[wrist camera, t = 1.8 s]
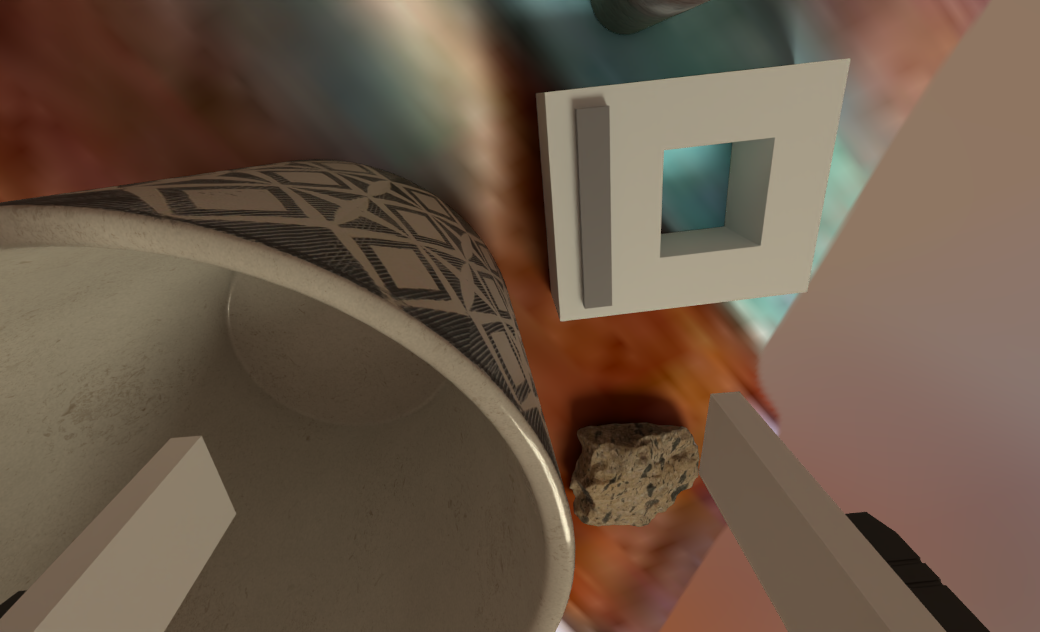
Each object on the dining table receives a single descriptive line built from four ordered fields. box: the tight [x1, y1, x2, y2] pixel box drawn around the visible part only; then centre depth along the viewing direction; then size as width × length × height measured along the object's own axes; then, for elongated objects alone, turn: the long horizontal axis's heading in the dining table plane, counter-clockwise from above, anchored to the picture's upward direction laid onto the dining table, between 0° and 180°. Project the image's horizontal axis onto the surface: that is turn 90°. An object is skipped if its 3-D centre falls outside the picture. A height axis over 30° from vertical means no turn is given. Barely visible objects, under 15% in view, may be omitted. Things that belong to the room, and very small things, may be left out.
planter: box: [0, 159, 575, 632], centre depth 25 cm, size 26×26×22 cm
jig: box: [536, 58, 851, 321], centre depth 30 cm, size 14×17×6 cm
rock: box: [570, 422, 699, 527], centre depth 42 cm, size 11×12×4 cm
